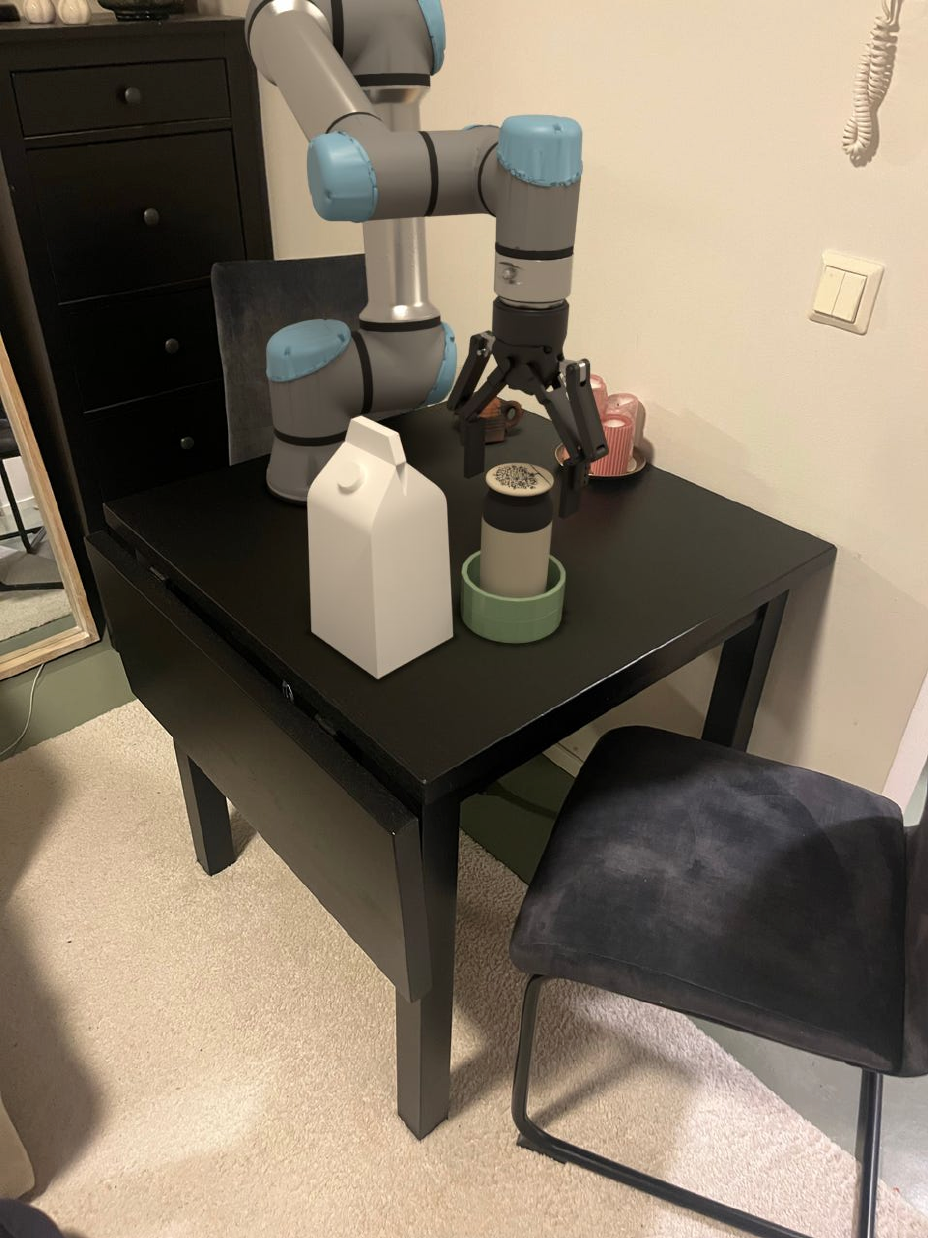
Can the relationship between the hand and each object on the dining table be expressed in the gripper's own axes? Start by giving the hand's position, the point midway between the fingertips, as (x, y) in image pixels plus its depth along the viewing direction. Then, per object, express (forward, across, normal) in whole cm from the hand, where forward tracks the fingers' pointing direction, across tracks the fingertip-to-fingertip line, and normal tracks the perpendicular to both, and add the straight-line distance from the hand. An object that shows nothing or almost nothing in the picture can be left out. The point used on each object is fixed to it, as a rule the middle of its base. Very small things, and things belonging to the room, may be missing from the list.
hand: (519, 493), depth 100 cm
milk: (+16, -8, -14) cm, 23 cm away
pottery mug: (+16, -37, +38) cm, 56 cm away
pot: (+16, 0, 0) cm, 16 cm away
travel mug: (+16, 0, 0) cm, 16 cm away
